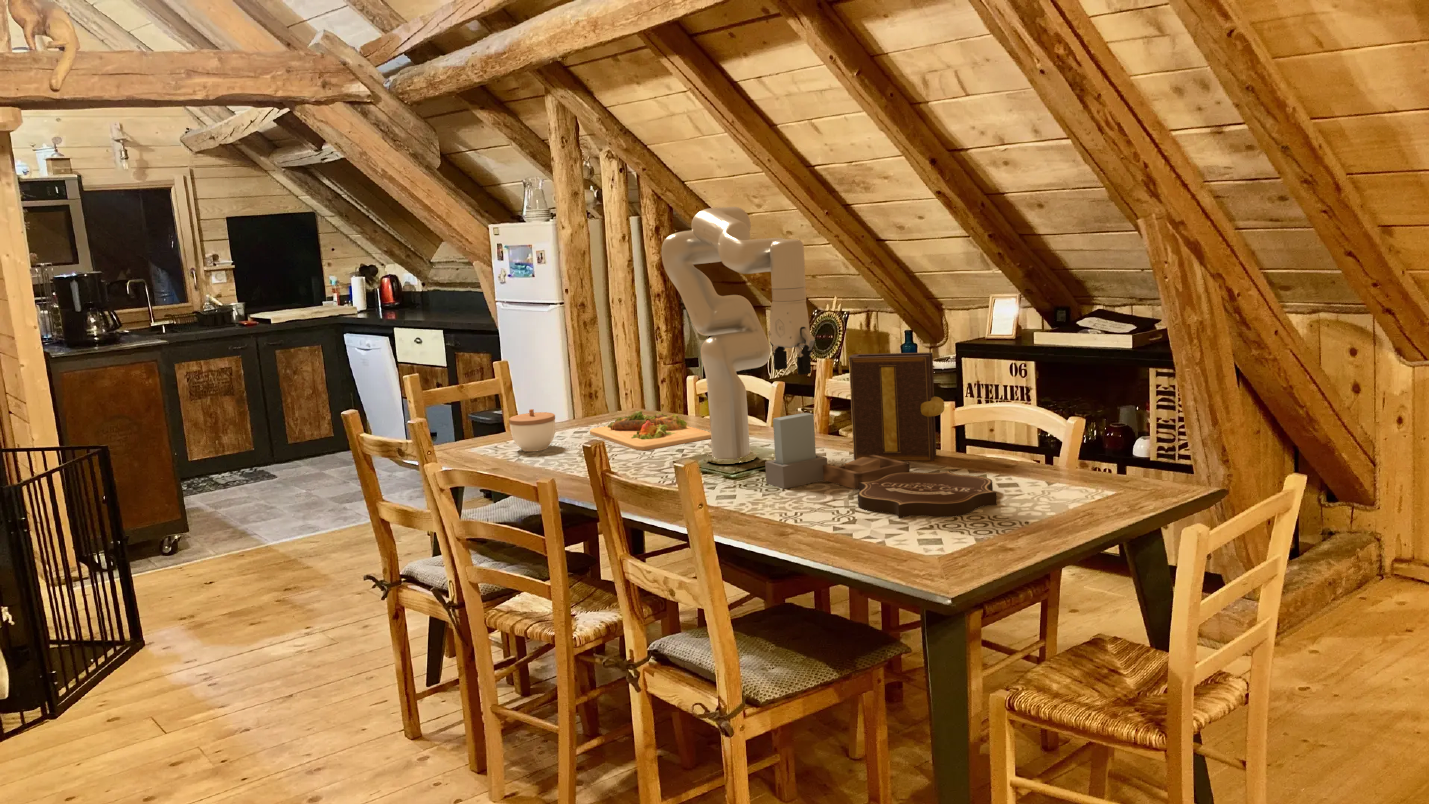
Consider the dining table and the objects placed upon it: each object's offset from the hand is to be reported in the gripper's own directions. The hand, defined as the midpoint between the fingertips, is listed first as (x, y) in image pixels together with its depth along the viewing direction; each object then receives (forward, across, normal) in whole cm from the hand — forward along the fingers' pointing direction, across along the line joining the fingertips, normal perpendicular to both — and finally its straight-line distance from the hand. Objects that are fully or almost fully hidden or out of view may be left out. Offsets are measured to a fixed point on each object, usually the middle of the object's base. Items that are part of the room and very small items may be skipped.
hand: (792, 371), depth 261 cm
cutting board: (+27, -74, -2) cm, 79 cm away
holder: (+25, +2, -1) cm, 25 cm away
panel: (+24, +2, -1) cm, 24 cm away
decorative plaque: (+25, +34, +9) cm, 43 cm away
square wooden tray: (+25, +12, +11) cm, 29 cm away
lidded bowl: (+27, -82, -33) cm, 92 cm away
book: (+25, 0, +30) cm, 39 cm away
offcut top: (+23, +10, +11) cm, 28 cm away
